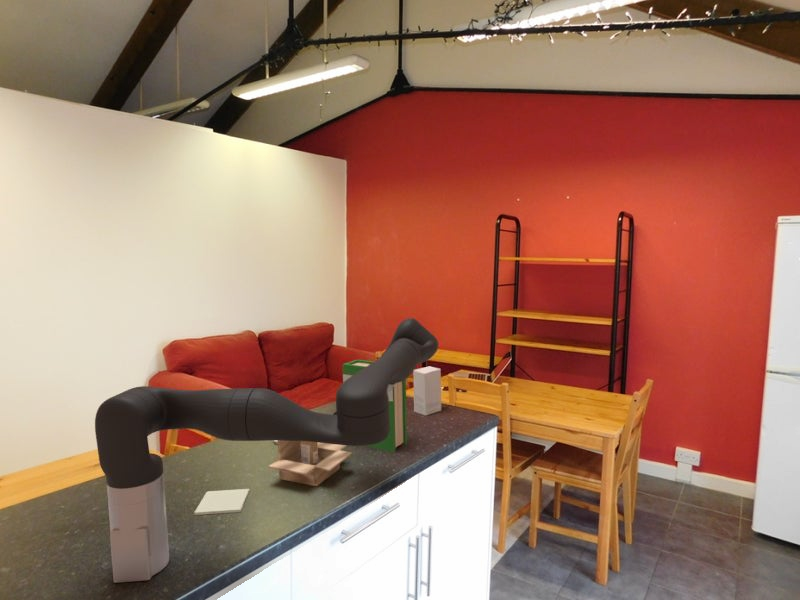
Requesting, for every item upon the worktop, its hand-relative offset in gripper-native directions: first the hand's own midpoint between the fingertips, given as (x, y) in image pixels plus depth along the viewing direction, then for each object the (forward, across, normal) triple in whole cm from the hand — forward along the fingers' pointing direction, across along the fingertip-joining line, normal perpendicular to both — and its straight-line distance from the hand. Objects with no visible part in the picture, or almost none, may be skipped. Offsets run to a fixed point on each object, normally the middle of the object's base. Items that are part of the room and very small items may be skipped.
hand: (335, 426), depth 128 cm
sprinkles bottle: (+15, -1, -4) cm, 16 cm away
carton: (+14, -1, -5) cm, 15 cm away
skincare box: (+8, +58, -11) cm, 60 cm away
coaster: (+22, -22, +3) cm, 31 cm away
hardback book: (+11, +25, -8) cm, 28 cm away
